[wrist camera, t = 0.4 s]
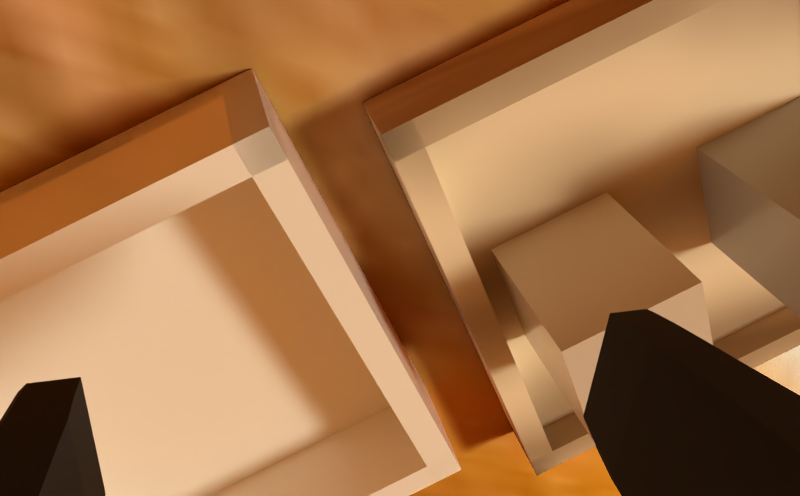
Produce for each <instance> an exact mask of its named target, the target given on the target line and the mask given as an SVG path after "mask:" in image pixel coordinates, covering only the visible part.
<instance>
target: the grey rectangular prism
mask: <svg viewBox="0 0 800 496" xmlns="http://www.w3.org/2000/svg"><path fill="white" fill-rule="evenodd" d="M697 154H698V161H699V167H700V174H701V180H702V186H703V193H704V199H705V205H706V212H707V218H708V225H709V231H710V237H711V243H712V244H714V245H715V246H716V247H717V248H718V249H720V250H721V251H722V252H723V253H724V254H725V255H727V256H728V257H729V258H730V259H731V260H732V261H734V262H735V263H736V264H737V265H738V266H739V267H741V268H742V269H743V270H744V271H745V272H747V273H748V274H749V275H750V276H751V277H752V278H754V279H755V280H756V281H757V282H758V283H759V284H761V285H762V286H763V287H764V288H765V289H766V290H768V291H769V292H770V293H771V294H772V295H774V296H775V297H776V298H777V299H778V300H779V301H781V302H782V303H783V304H784V305H785V306H786V307H788V308H789V309H790V310H791V311H792V312H793V313H795V314H796V315H797V316H798V317H799V318H800V97H798V98H796V99H794V100H792V101H790V102H788V103H786V104H784V105H782V106H780V107H778V108H775V109H773V110H771V111H769V112H767V113H765V114H763V115H761V116H759V117H757V118H755V119H753V120H751V121H749V122H747V123H745V124H743V125H741V126H739V127H737V128H735V129H733V130H731V131H729V132H727V133H725V134H723V135H721V136H719V137H717V138H715V139H713V140H711V141H709V142H707V143H705V144H703V145H701V146H699V147H697Z"/></svg>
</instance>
